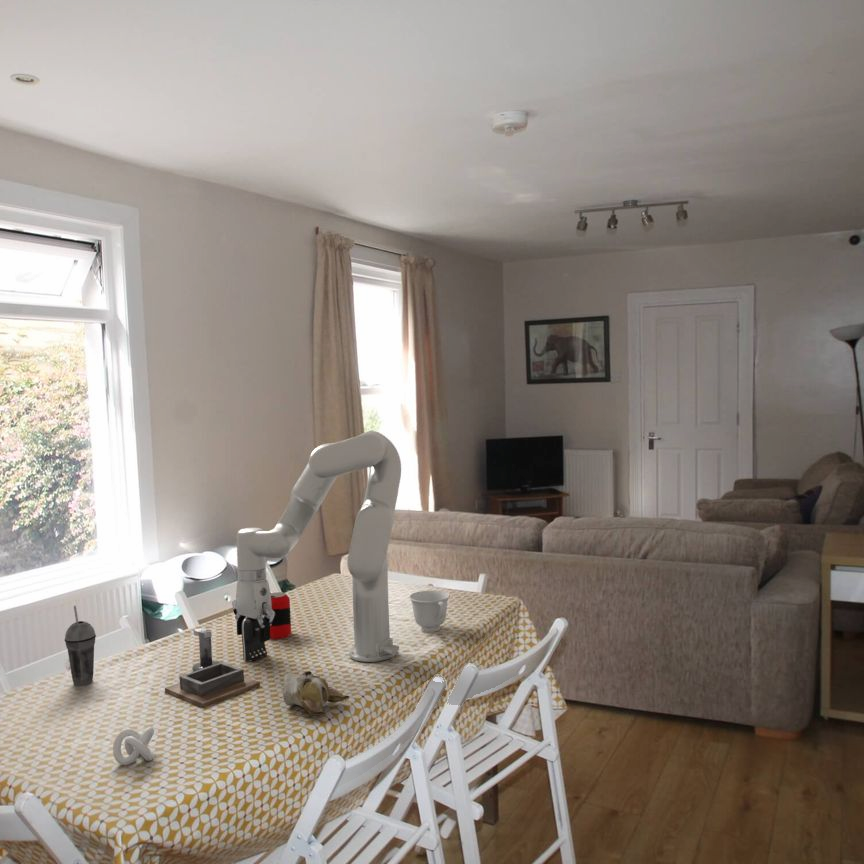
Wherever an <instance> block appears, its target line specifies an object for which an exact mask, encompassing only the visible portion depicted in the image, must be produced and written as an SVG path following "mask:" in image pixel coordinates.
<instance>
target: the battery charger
mask: <svg viewBox="0 0 864 864" xmlns="http://www.w3.org/2000/svg"><path fill="white" fill-rule="evenodd" d="M260 616H261V615H260ZM262 620H263V622H264V621H265V619H264V618H263V619H262ZM259 627H261V626H260V624H259V622H258V620H257V619H253V618H249V617H246V618H244V619H243V621H242V624H241V630H242V634H241V641H242V643H241V645H242V657H243V658H242V660H244V661H249V662H252V661H256V660H259V659H261V658H263V657H265V656H267V655H268V652H267V647H266V643H265V642H266V641H265V642H262V643H261V642H259Z"/></svg>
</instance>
